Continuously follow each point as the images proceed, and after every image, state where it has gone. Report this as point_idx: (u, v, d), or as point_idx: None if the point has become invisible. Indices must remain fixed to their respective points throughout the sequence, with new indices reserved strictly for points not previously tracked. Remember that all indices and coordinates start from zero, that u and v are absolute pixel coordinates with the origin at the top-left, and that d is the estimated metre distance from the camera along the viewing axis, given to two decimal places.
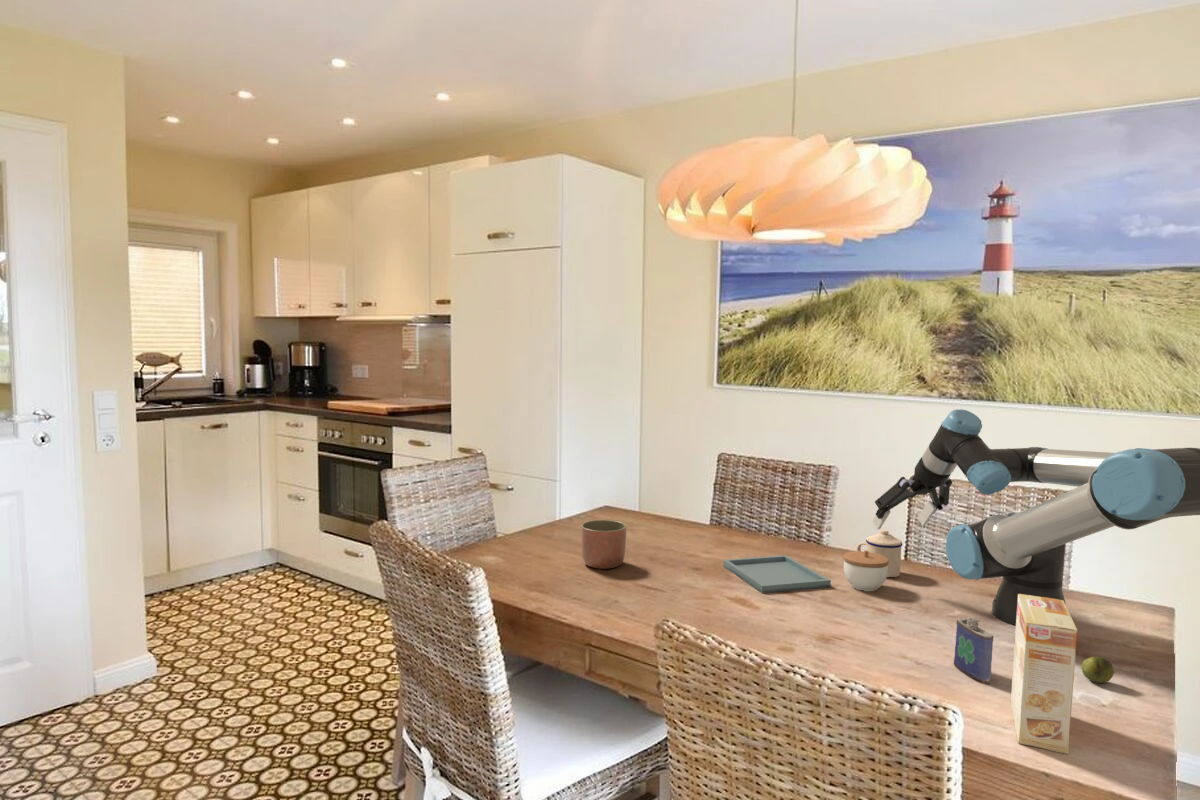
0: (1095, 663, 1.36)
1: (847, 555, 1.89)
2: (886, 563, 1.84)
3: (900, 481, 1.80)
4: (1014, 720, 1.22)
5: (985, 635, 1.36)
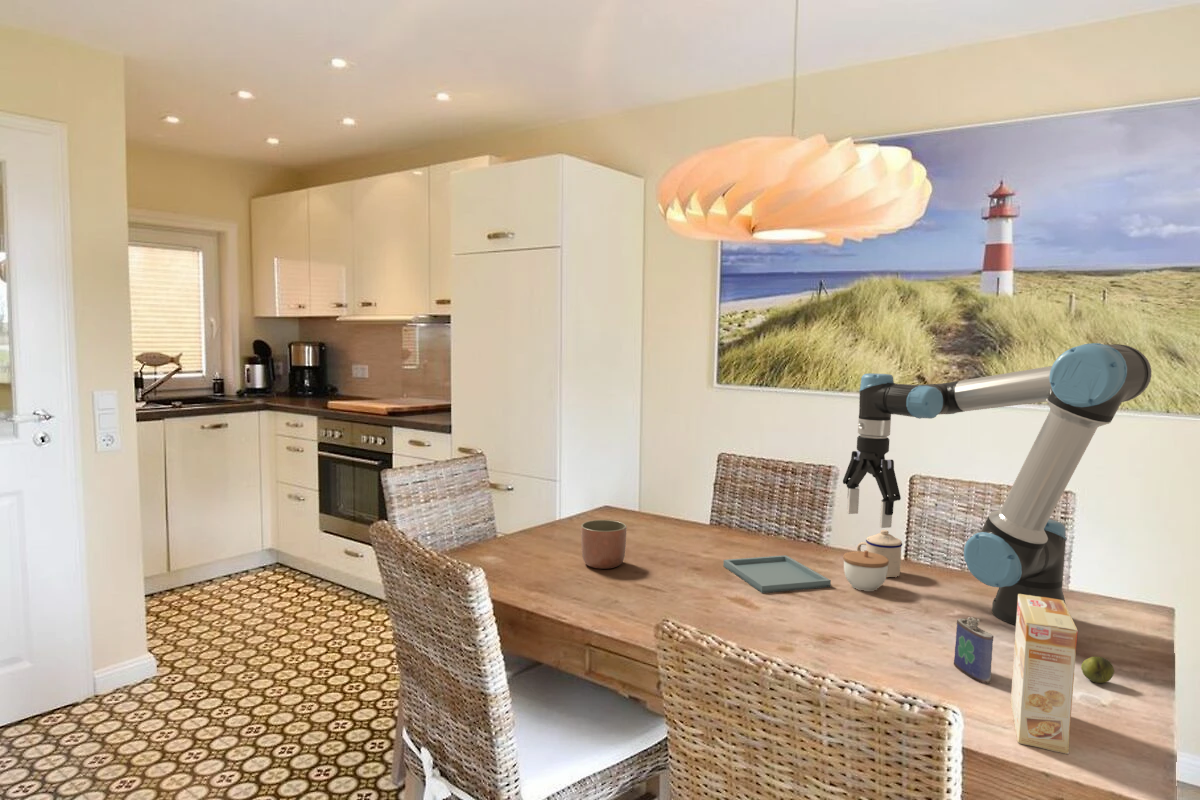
0: (1095, 663, 1.36)
1: (847, 555, 1.89)
2: (886, 563, 1.84)
3: (887, 464, 1.79)
4: (1014, 720, 1.22)
5: (985, 635, 1.36)
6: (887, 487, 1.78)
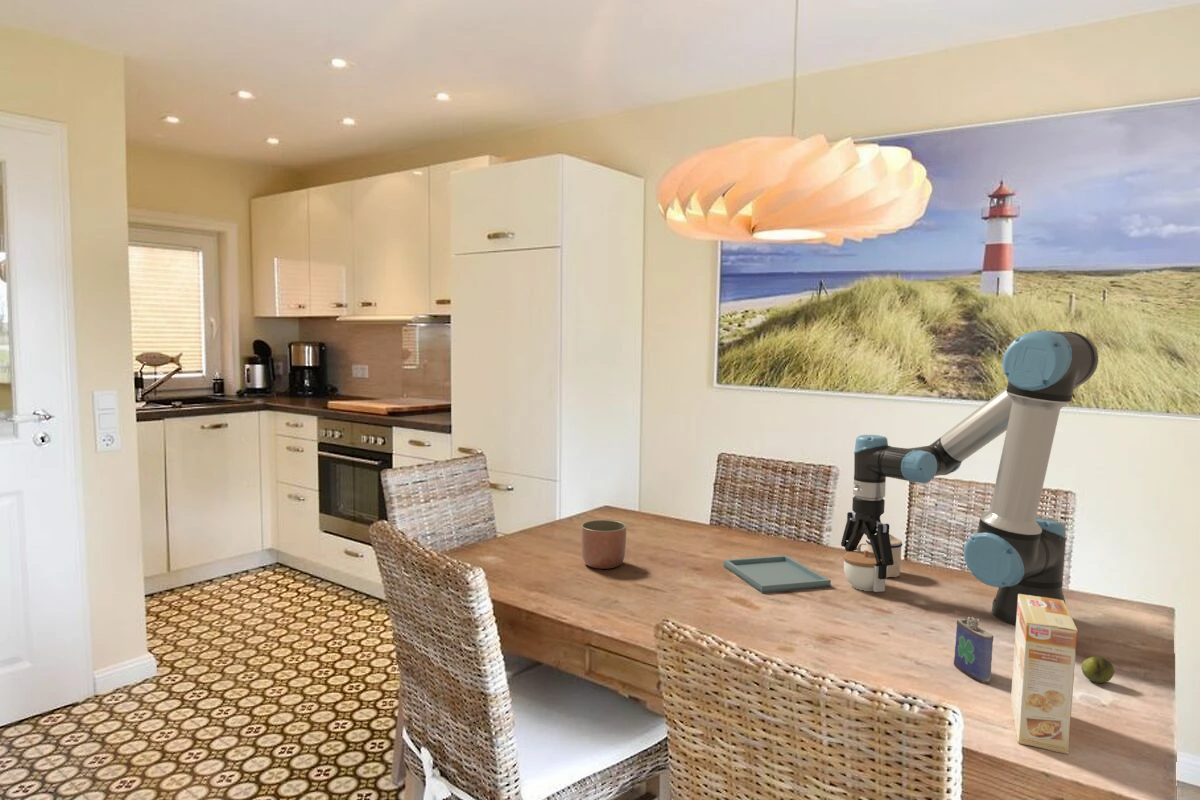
0: (1095, 663, 1.36)
1: (847, 555, 1.89)
2: None
3: (882, 529, 1.80)
4: (1014, 720, 1.22)
5: (985, 635, 1.36)
6: (881, 552, 1.80)
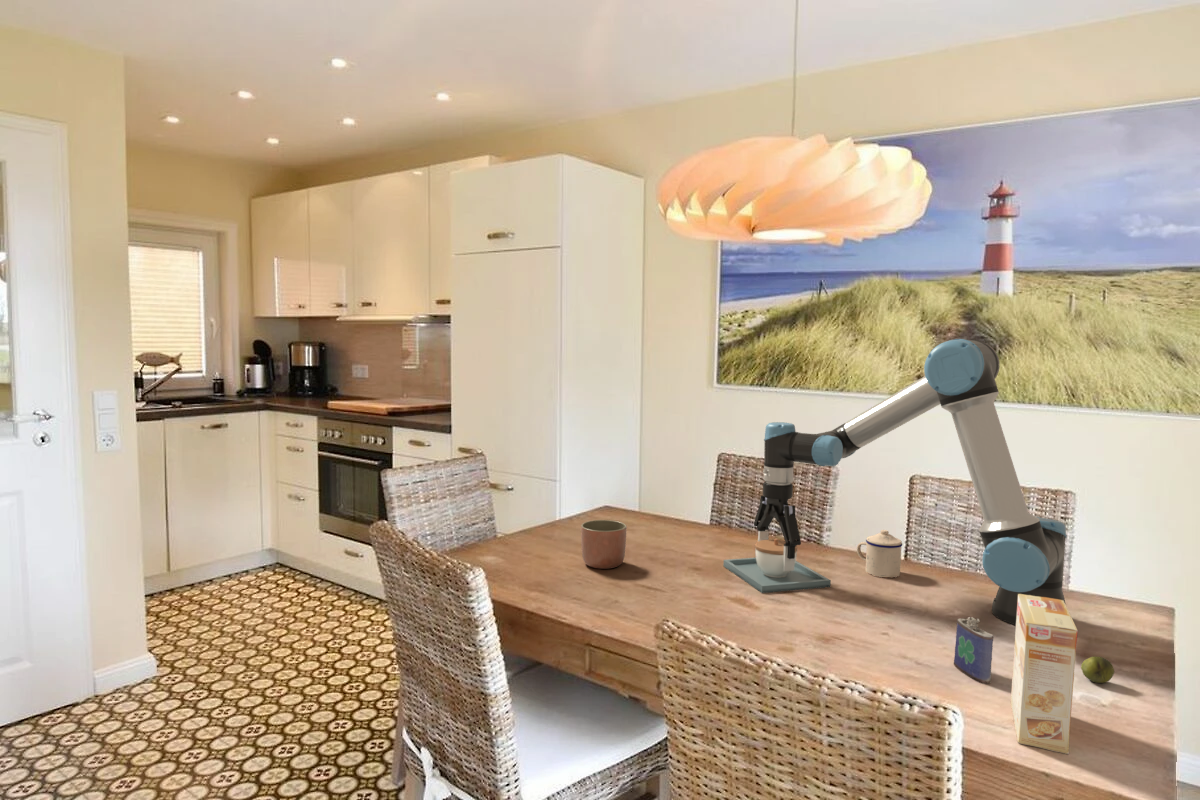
0: (1095, 663, 1.36)
1: (758, 543, 1.96)
2: None
3: (788, 510, 1.88)
4: (1014, 720, 1.22)
5: (985, 635, 1.36)
6: (788, 532, 1.87)
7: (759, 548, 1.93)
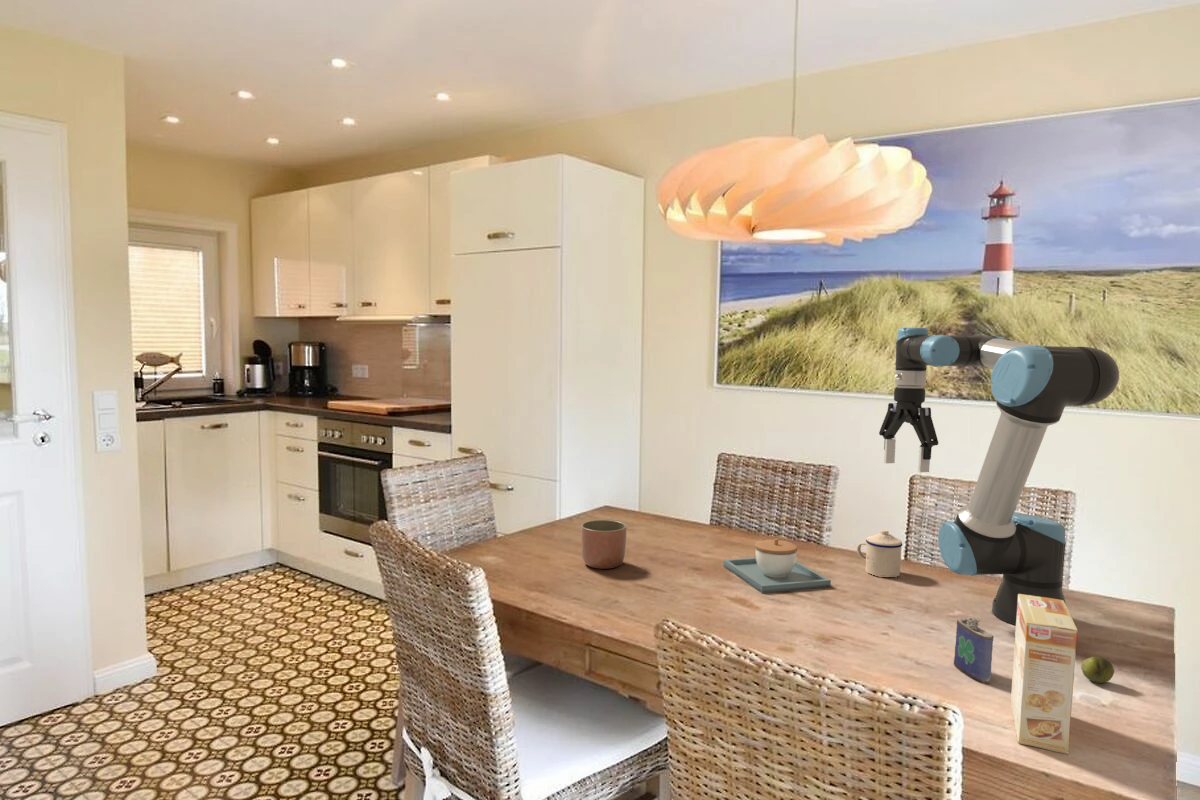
0: (1095, 663, 1.36)
1: (758, 543, 1.96)
2: (794, 550, 1.91)
3: (925, 411, 1.89)
4: (1014, 720, 1.22)
5: (985, 635, 1.36)
6: (925, 433, 1.88)
7: (759, 548, 1.93)
